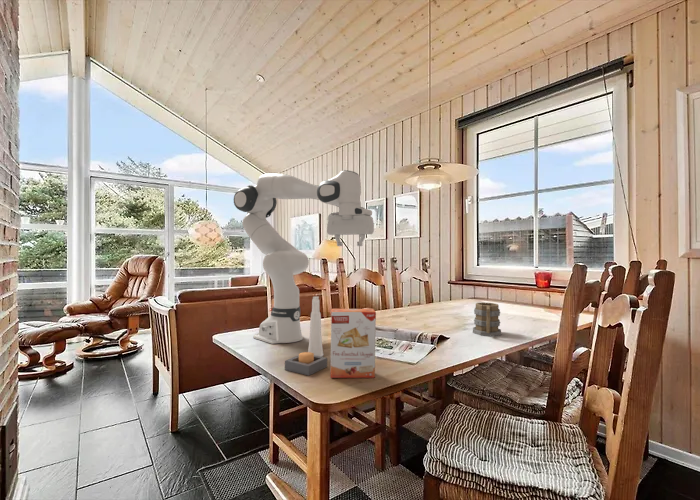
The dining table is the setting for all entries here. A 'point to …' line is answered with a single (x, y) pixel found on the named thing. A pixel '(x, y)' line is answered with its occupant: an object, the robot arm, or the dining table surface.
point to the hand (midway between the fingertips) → (349, 246)
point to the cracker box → (353, 343)
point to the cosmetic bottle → (315, 329)
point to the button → (306, 357)
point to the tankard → (487, 319)
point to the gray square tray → (305, 365)
